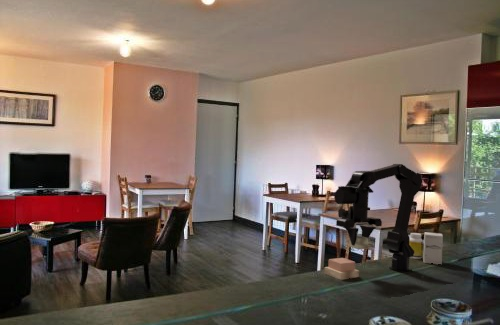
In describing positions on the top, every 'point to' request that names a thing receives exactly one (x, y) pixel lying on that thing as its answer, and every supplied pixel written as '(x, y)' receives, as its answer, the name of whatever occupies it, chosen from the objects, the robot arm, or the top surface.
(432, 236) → the supplement box
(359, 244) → the sage block
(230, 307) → the top surface
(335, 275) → the birch block
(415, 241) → the pill bottle
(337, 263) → the terracotta block
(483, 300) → the top surface
